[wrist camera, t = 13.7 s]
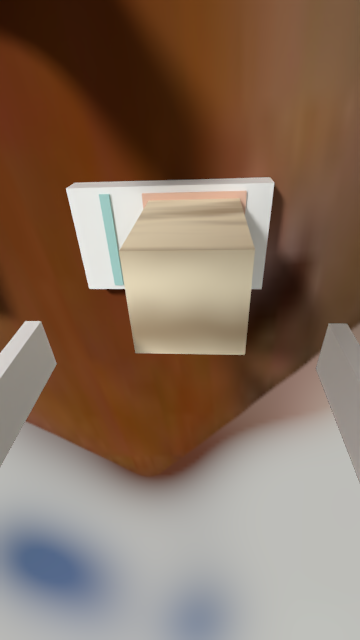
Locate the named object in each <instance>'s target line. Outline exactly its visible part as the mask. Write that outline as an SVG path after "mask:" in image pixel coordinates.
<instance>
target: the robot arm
mask: <svg viewBox="0 0 360 640" xmlns="http://www.w3.org/2000/svg"><path fill="white" fill-rule="evenodd" d="M56 364H57V363H56V361H55V358H54V355H53V353H52V350H51V347H50V344H49V342H48V339H47V336H46V334H45V331H44V328H43V326H42V323H41V321H25V322H24V324H23V325H22V326H21V327H20V329H19V330H18V331H17V333H16V334H15V335H14V336H13V338H12V339H11V340H10V342H9V343H8V344H7V345H6V347H5V348H4V349H3V350H2V352H1V353H0V467H1V465H2V463H3V461H4V459H5V457H6V455H7V454H8V452H9V450H10V448H11V446H12V445H13V443H14V441H15V439H16V437H17V435H18V434H19V432H20V430H21V428H22V426H23V424H24V423H25V421H26V419H27V417H28V415H29V414H30V412H31V410H32V408H33V406H34V404H35V403H36V401H37V399H38V397H39V395H40V393H41V392H42V390H43V388H44V386H45V384H46V382H47V381H48V379H49V377H50V375H51V373H52V372H53V370H54V368H55V366H56ZM316 370H317V373H318V376H319V378H320V381H321V384H322V386H323V388H324V391H325V394H326V397H327V399H328V402H329V404H330V407H331V410H332V412H333V415H334V417H335V420H336V423H337V425H338V428H339V430H340V433H341V435H342V438H343V441H344V443H345V446H346V448H347V451H348V453H349V456H350V459H351V461H352V464H353V466H354V469H355V472H356V474H357V477H358V480H359V482H360V345H359V343H358V341H357V340H356V338H355V336H354V335H353V333H352V331H351V330H350V328H349V326H348V324H339V323H329V324H328V328H327V331H326V335H325V338H324V342H323V345H322V349H321V352H320V356H319V359H318V363H317V366H316Z"/></svg>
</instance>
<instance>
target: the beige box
mask: <svg viewBox="0 0 360 640" xmlns="http://www.w3.org/2000/svg"><path fill="white" fill-rule="evenodd" d="M119 255H120V261H121V267H122V273H123V279H124V286H125V292H126V298H127V304H128V310H129V316H130V323H131V329H132V335H133V341H134V347H135V353H163V354H223V355H245V349H246V338H247V328H248V317H249V307H250V297H251V286H252V276H253V265H254V255H255V248H254V245H253V241H252V238H251V235H250V231H249V228H248V225H247V221H246V218H245V215H244V211H243V208H242V205H241V201H240V198H226V199H187V200H149V201H148V202H147V204H146V206H145V208H144V209H143V211H142V213H141V214H140V216H139V218H138V220H137V221H136V223H135V225H134V226H133V228H132V230H131V231H130V233H129V235H128V237H127V238H126V240H125V242H124V243H123V245H122V247H121V248H120V250H119Z"/></svg>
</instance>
